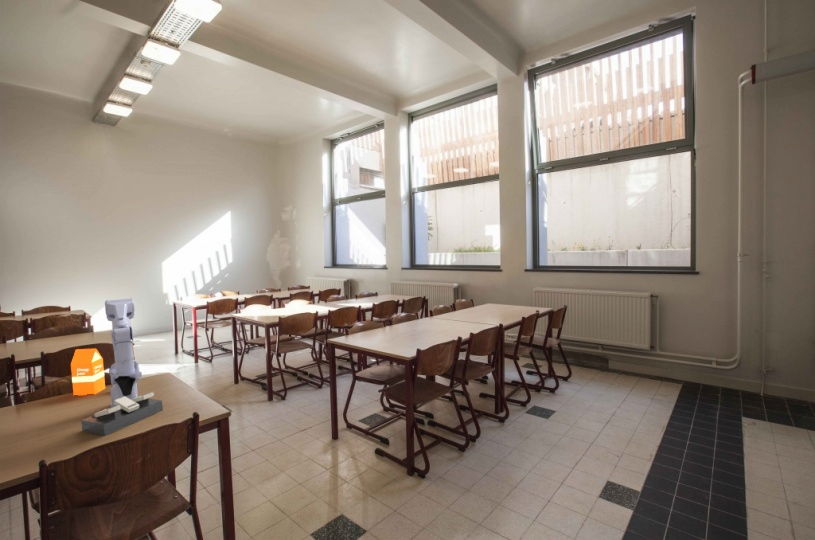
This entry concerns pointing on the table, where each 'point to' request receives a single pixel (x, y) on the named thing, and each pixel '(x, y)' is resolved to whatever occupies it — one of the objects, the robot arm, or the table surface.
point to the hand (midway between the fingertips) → (127, 395)
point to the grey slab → (121, 417)
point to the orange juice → (87, 372)
